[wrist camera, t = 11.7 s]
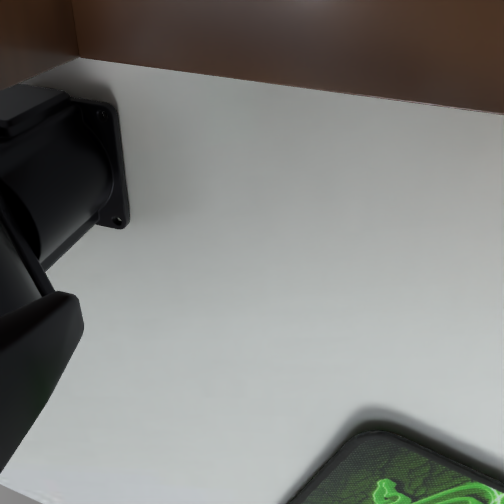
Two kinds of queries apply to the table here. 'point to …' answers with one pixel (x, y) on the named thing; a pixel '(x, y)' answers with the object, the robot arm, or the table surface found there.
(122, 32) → the shelf
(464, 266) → the table surface
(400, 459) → the mouse mat
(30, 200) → the robot arm
